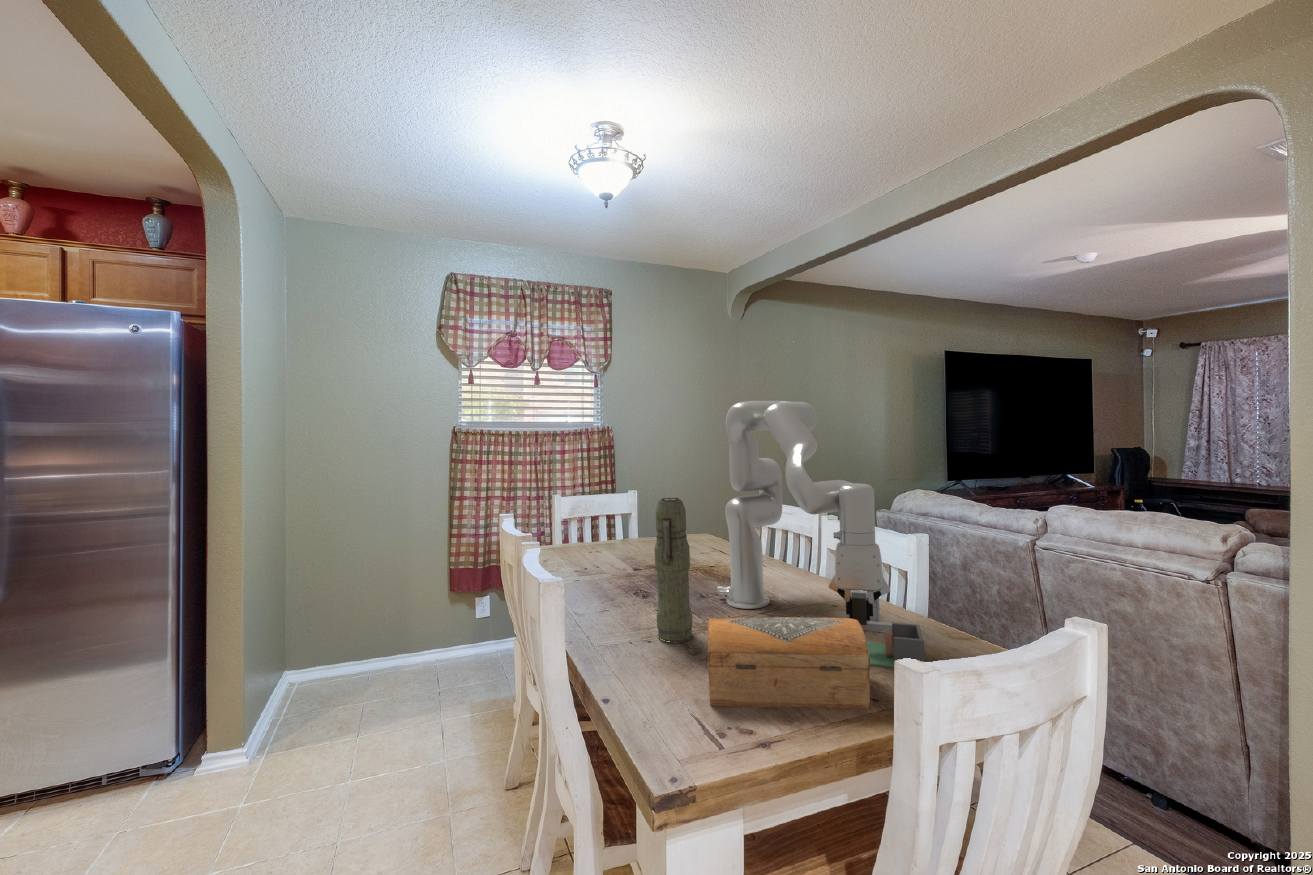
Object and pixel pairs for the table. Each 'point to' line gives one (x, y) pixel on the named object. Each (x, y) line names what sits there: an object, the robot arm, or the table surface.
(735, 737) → the table surface
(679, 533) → the thermos
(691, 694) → the table surface
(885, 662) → the pitch mat
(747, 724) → the table surface
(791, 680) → the wooden box
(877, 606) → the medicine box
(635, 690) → the table surface
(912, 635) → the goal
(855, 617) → the grey brown blocky piece
